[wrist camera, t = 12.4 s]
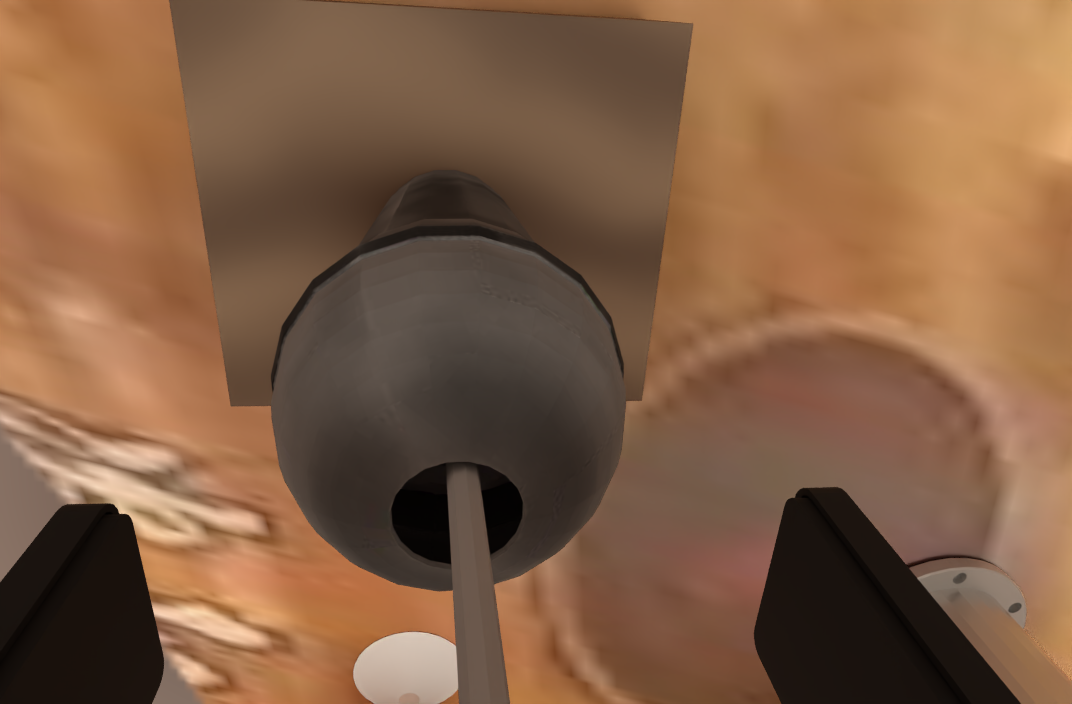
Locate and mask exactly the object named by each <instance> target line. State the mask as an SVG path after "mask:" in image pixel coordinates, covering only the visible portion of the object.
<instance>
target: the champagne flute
mask: <svg viewBox="0 0 1072 704" xmlns="http://www.w3.org/2000/svg"><path fill="white" fill-rule="evenodd" d="M353 678H354V682H355V685H356V687H357V688H358V690H359V692H360V693H361V694H362V695H363V696H364V697H365V698H366V699H368V700H369V701H371V702H373V703H374V704H438V703H440V702H443V701H444V700H446V699H447V698H449V697H450V696H452V695H453V694H454V693H455V692H456V691H457V690H458V673H457V655H456V646H455V645H454V644H452V643H451V642H449V641H448V640H446V639H444V638H442V637H440V636H437V635H433V634H430V633H423V632H404V633H398V634H393V635H390V636H387V637H384V638H382V639H380V640H378V641H376V642H374V643H373V644H371V645H370V646H368V647H367V648H366V649H365V650H364V651H363V652H362V653H361V654H360V656H359V657H358V659H357V661H356V663H355V666H354V670H353Z"/></svg>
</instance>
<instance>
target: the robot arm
mask: <svg viewBox="0 0 1072 704" xmlns="http://www.w3.org/2000/svg"><path fill="white" fill-rule="evenodd" d="M1026 614H1027V608H1026V601H1025V597H1024V595H1023V593H1022V591H1021V589H1020V588H1019V587H1018V585H1017V584H1016V583H1015V582H1014V581H1013V580H1012V579H1011V578H1010V577H1009V576H1008V575H1007V574H1006V573H1005V572H1003V571H1002V570H1001V569H999V568H998V567H997V566H995V565H992V564H990V563H987V562H985V561H982V560H976V559H970V558H947V559H940V560H934V561H929V562H926V563H922V564H919V565H916V566H913V567H910V568H908V566H907V565H906V564H905V563H904V562H903V560H902V559H901V558H900V557H899V556H898V554H897V553H896V552H895V551H894V550H893V548H892V547H891V546H890V545H889V544H888V542H887V541H886V540H885V539H884V538H883V536H882V535H881V534H880V533H879V531H878V530H877V529H876V528H875V527H874V525H873V524H872V523H871V522H870V521H869V519H868V518H867V517H866V516H865V515H864V513H863V512H862V511H861V510H860V509H859V507H858V506H857V505H856V504H855V503H854V501H853V500H852V499H851V498H850V496H849V495H848V494H847V493H846V492H845V491H844V490H843V489H841V488H838V487H827V488H802V489H800V490H799V491H798V492H797V494H796V496H795V498H790V499H788V500H787V502H786V504H785V507H784V511H783V515H782V519H781V523H780V527H779V531H778V535H777V539H776V543H775V547H774V551H773V555H772V559H771V563H770V568H769V572H768V576H767V580H766V584H765V588H764V592H763V596H762V600H761V604H760V608H759V612H758V616H757V620H756V625H755V630H754V640H755V646H756V650H757V653H758V655H759V658H760V660H761V662H762V664H763V666H764V668H765V670H766V672H767V674H768V676H769V678H770V680H771V683H772V685H773V687H774V689H775V691H776V693H777V695H778V697H779V699H780V701H781V703H782V704H1072V681H1071V680H1070V679H1069V678H1068V676H1067V675H1066V674H1065V673H1064V672H1063V671H1062V670H1061V669H1060V668H1059V667H1058V666H1057V665H1056V664H1055V663H1054V661H1053V660H1052V659H1051V658H1050V657H1049V656H1048V655H1047V654H1046V653H1045V652H1044V651H1043V650H1042V649H1041V648H1040V646H1039V645H1038V644H1037V643H1036V642H1035V641H1034V640H1033V639H1032V638H1031V637H1030V636H1029V635H1028V634H1027V633H1026V631H1025V630H1024V626H1025V622H1026ZM163 669H164V657H163V652H162V647H161V643H160V639H159V634H158V630H157V626H156V621H155V617H154V613H153V608H152V604H151V600H150V596H149V591H148V587H147V583H146V578H145V574H144V570H143V565H142V561H141V557H140V552H139V548H138V544H137V539H136V535H135V531H134V526H133V522H132V520H131V518H130V516H129V515H127V514H119V512H118V509H117V508H116V507H115V505H113V504H110V503H109V504H67V505H64V506H62V507H61V508H60V509H59V510H58V511H57V512H56V513H55V514H54V515H53V517H52V518H51V519H50V521H49V522H48V523H47V524H46V525H45V527H44V528H43V529H42V531H41V532H40V533H39V534H38V536H37V537H36V538H35V539H34V541H33V542H32V543H31V544H30V546H29V547H28V548H27V549H26V551H25V552H24V553H23V554H22V556H21V557H20V558H19V560H18V561H17V562H16V563H15V564H14V566H13V567H12V568H11V570H10V571H9V572H8V573H7V575H6V576H5V577H4V578H3V580H2V581H1V582H0V704H152V702H153V700H154V698H155V695H156V693H157V691H158V688H159V686H160V683H161V680H162V675H163Z"/></svg>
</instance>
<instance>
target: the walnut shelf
mask: <svg viewBox="0 0 1072 704" xmlns="http://www.w3.org/2000/svg"><path fill="white" fill-rule="evenodd" d="M169 2H170V8H171V15H172V22H173V28H174V35H175V41H176V48H177V55H178V61H179V68H180V74H181V81H182V88H183V94H184V101H185V107H186V114H187V120H188V127H189V134H190V140H191V147H192V153H193V160H194V167H195V173H196V180H197V186H198V193H199V200H200V206H201V213H202V219H203V226H204V232H205V239H206V246H207V252H208V259H209V265H210V272H211V279H212V285H213V292H214V298H215V305H216V312H217V318H218V325H219V331H220V338H221V345H222V351H223V358H224V364H225V371H226V377H227V384H228V391H229V397H230V404H231V406H271V400H272V395H273V391H272V385H271V372H272V367H273V363H274V358H275V354H276V349H277V345H278V340H279V336H280V331H281V327H282V325H283V323H284V322H285V320H286V319H287V317H288V316H289V314H290V313H291V311H292V309H293V308H294V306H295V305H296V303H297V302H298V300H299V299H300V297H301V296H302V294H303V293H304V291H305V290H306V288H307V287H308V285H309V284H310V282H311V281H312V280H313V279H314V278H315V277H317V276H318V275H319V274H321V273H322V272H323V271H325V270H326V269H328V268H329V267H330V266H332V265H333V264H334V263H336V262H337V261H338V260H340V259H341V258H342V257H344V256H345V255H346V254H348V253H349V252H350V251H352V250H353V249H354V248H356V247H357V246H359V244H360V243H361V241H362V239H363V238H364V236H365V235H366V233H367V232H368V230H369V229H370V227H371V226H372V224H373V223H374V221H375V220H376V218H377V217H378V215H379V214H380V212H381V211H382V209H383V208H384V206H385V205H386V203H387V202H388V200H389V199H390V197H391V196H392V195H394V194H395V193H396V192H397V191H398V189H399V188H401V187H402V186H403V185H405V184H406V183H407V182H409V181H410V180H411V179H413V178H414V177H416V176H419V175H422V174H425V173H428V172H431V171H434V170H457V171H460V172H463V173H466V174H469V175H473V176H476V177H477V178H479V179H480V180H481V181H483V182H484V183H485V184H487V185H488V186H490V187H491V188H492V189H493V190H494V191H495V192H496V193H497V194H499V195H500V196H501V197H502V199H503V200H504V201H505V203H506V204H507V205H508V207H509V208H510V209H511V211H512V212H513V214H514V215H515V216H516V218H517V219H518V220H519V222H520V223H521V224H522V226H523V227H524V228H525V230H526V231H527V233H528V234H529V235H530V237H531V238H532V239H533V241H534V242H535V243H537V244H538V245H540V246H541V247H543V248H544V249H545V250H547V251H548V252H550V253H551V254H553V255H554V256H555V257H557V258H558V259H560V260H561V261H562V262H564V263H565V264H567V265H568V266H569V267H571V268H572V269H574V270H575V271H577V272H578V273H579V274H581V275H582V276H583V278H584V279H585V281H586V282H587V284H588V285H589V286H590V288H591V289H592V291H593V292H594V293H595V295H596V296H597V298H598V299H599V300H600V302H601V303H602V305H603V306H604V307H605V309H606V310H607V312H608V313H609V315H610V316H611V318H612V321H613V325H614V329H615V332H616V336H617V340H618V344H619V347H620V351H621V355H622V358H623V362H624V377H623V381H624V385H625V390H626V401H642V395H643V388H644V381H645V373H646V366H647V359H648V351H649V344H650V337H651V329H652V322H653V315H654V307H655V300H656V293H657V285H658V278H659V271H660V263H661V256H662V249H663V242H664V234H665V227H666V220H667V212H668V205H669V198H670V190H671V183H672V176H673V168H674V161H675V154H676V146H677V139H678V132H679V124H680V117H681V110H682V102H683V95H684V88H685V81H686V73H687V66H688V59H689V51H690V44H691V37H692V29H693V24H692V23H681V22H669V21H657V20H645V19H628V18H611V17H594V16H578V15H561V14H544V13H527V12H510V11H494V10H477V9H460V8H443V7H426V6H410V5H393V4H376V3H359V2H342V1H326V0H169Z"/></svg>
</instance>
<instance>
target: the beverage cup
mask: <svg viewBox="0 0 1072 704" xmlns="http://www.w3.org/2000/svg"><path fill="white" fill-rule="evenodd" d="M623 377H624V362H623V358H622V355H621V351H620V347H619V344H618V340H617V336H616V332H615V329H614V325H613V321H612V318H611V316H610V315H609V313H608V312H607V310H606V309H605V307H604V306H603V305H602V303H601V302H600V300H599V299H598V298H597V296H596V295H595V293H594V292H593V291H592V289H591V288H590V286H589V285H588V284H587V282H586V281H585V279H584V278H583V276H582V275H581V274H579V273H578V272H577V271H575V270H574V269H572V268H571V267H569V266H568V265H567V264H565V263H564V262H562V261H561V260H560V259H558V258H557V257H555V256H554V255H553V254H551V253H550V252H548V251H547V250H545V249H544V248H543V247H541V246H540V245H538V244H537V243H535V242H534V241H533V239H532V238H531V237H530V235H529V234H528V233H527V231H526V230H525V228H524V227H523V226H522V224H521V223H520V222H519V220H518V219H517V218H516V216H515V215H514V214H513V212H512V211H511V209H510V208H509V207H508V205H507V204H506V203H505V201H504V200H503V199H502V197H501V196H500V195H499V194H497V193H496V192H495V191H494V190H493V189H492V188H491V187H490V186H488V185H487V184H485V183H484V182H483V181H481V180H480V179H479V178H477V177H476V176H473V175H469V174H466V173H463V172H460V171H457V170H434V171H431V172H428V173H425V174H422V175H419V176H416V177H414V178H413V179H411V180H410V181H409V182H407V183H406V184H405V185H403V186H402V187H401V188H399V189H398V191H397V192H396V193H395V194H394V195H392V196H391V197H390V199H389V200H388V202H387V203H386V205H385V206H384V208H383V209H382V211H381V212H380V214H379V215H378V217H377V218H376V220H375V221H374V223H373V224H372V226H371V227H370V229H369V230H368V232H367V233H366V235H365V236H364V238H363V239H362V241H361V243H360V244H359V246H357V247H356V248H354V249H353V250H352V251H350V252H349V253H348V254H346V255H345V256H344V257H342V258H341V259H340V260H338V261H337V262H336V263H334V264H333V265H332V266H330V267H329V268H328V269H326V270H325V271H323V272H322V273H321V274H319V275H318V276H317V277H315V278H314V279H313V280H312V281H311V282H310V284H309V285H308V287H307V288H306V290H305V291H304V293H303V294H302V296H301V297H300V299H299V300H298V302H297V303H296V305H295V306H294V308H293V309H292V311H291V313H290V314H289V316H288V317H287V319H286V320H285V322H284V323H283V325H282V327H281V331H280V336H279V340H278V345H277V349H276V354H275V358H274V363H273V367H272V372H271V385H272V391H273V395H272V400H271V413H272V423H273V429H274V436H275V442H276V448H277V454H278V460H279V466H280V469H281V472H282V475H283V478H284V480H285V483H286V484H287V486H288V488H289V489H290V491H291V493H292V495H293V496H294V498H295V500H296V501H297V503H298V505H299V507H300V508H301V510H302V512H303V514H304V515H305V517H306V519H307V520H308V522H309V523H310V524H311V526H312V527H313V528H314V530H315V531H316V532H317V533H318V534H319V535H320V536H321V537H322V538H323V539H325V540H326V541H327V542H328V543H329V544H330V545H332V546H333V547H334V548H335V549H336V550H337V551H338V552H340V553H341V554H342V555H343V556H344V557H345V558H347V559H348V560H349V561H350V562H352V563H353V564H355V565H357V566H358V567H360V568H362V569H364V570H367V571H369V572H371V573H373V574H376V575H378V576H380V577H382V578H384V579H387V580H389V581H391V582H393V583H396V584H398V585H404V586H410V587H416V588H421V589H427V590H433V591H452V590H453V601H454V619H455V637H456V655H457V673H458V691H459V704H510V700H509V692H508V685H507V677H506V670H505V663H504V655H503V648H502V640H501V633H500V626H499V618H498V611H497V603H496V596H495V589H494V584H496V583H499V582H503V581H506V580H509V579H512V578H515V577H518V576H521V575H522V574H524V573H526V572H527V571H529V570H531V569H532V568H534V567H535V566H537V565H539V564H540V563H542V562H543V561H545V560H547V559H548V558H550V557H552V556H553V555H555V554H556V553H557V552H559V551H560V550H561V549H562V548H563V547H564V546H565V545H566V544H567V543H568V542H569V541H570V540H571V539H572V538H573V537H574V536H575V534H576V533H577V532H578V531H579V530H580V529H581V528H582V527H583V526H584V525H585V524H586V523H587V521H588V520H589V519H590V518H591V517H592V516H593V514H594V512H595V511H596V509H597V507H598V506H599V504H600V502H601V500H602V498H603V495H604V493H605V491H606V489H607V487H608V485H609V483H610V480H611V478H612V476H613V474H614V472H615V470H616V468H617V465H618V462H619V458H620V454H621V450H622V441H623V431H624V420H625V409H626V390H625V385H624V381H623Z"/></svg>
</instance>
